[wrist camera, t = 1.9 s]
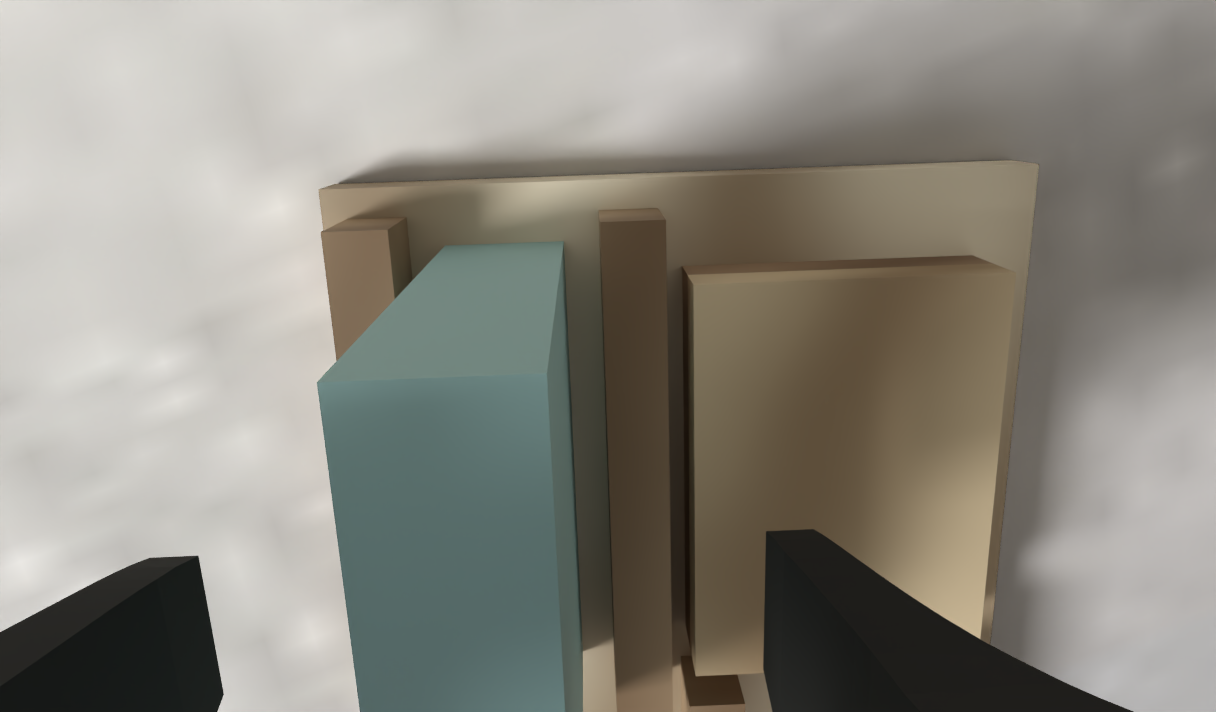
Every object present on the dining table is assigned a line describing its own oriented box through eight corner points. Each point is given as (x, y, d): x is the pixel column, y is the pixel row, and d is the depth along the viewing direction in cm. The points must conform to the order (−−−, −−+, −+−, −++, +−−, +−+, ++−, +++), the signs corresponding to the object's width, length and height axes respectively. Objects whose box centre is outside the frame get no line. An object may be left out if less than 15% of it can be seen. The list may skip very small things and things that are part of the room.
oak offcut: (993, 263, 14) (1016, 272, 14) (959, 636, 16) (977, 663, 16) (687, 274, 14) (694, 284, 14) (689, 648, 16) (695, 676, 16)
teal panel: (563, 241, 15) (547, 374, 8) (582, 651, 17) (583, 1049, 10) (445, 245, 15) (316, 382, 8) (479, 656, 17) (405, 1060, 10)
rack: (1011, 160, 16) (1087, 171, 13) (935, 974, 21) (980, 1087, 19) (334, 184, 16) (289, 199, 13) (430, 1000, 21) (410, 1118, 18)
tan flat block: (972, 254, 15) (993, 263, 14) (943, 613, 17) (959, 636, 16) (682, 265, 15) (687, 274, 14) (685, 624, 17) (689, 648, 16)
